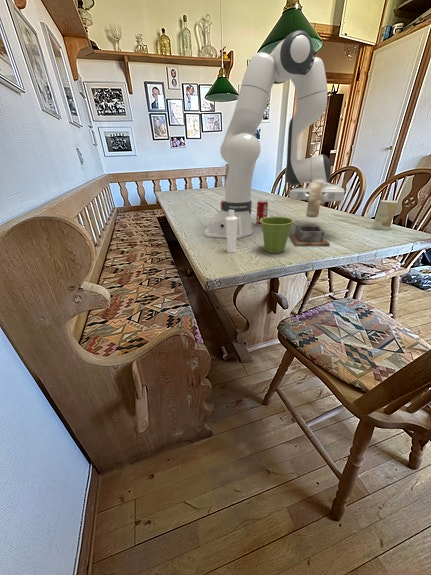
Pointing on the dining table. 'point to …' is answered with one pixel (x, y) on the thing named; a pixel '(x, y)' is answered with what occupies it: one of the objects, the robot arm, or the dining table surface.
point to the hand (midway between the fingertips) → (314, 197)
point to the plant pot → (275, 233)
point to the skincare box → (385, 214)
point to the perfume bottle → (231, 231)
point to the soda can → (261, 211)
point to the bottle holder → (308, 236)
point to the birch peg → (314, 199)
